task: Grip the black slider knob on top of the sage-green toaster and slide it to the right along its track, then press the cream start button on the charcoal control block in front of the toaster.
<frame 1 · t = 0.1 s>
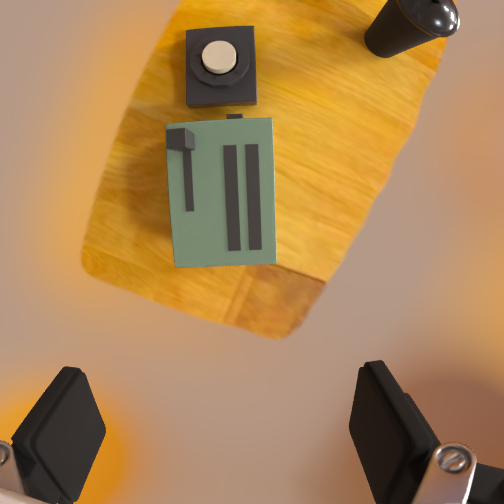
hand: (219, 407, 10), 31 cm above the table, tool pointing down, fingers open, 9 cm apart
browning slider: (181, 140, 26), point 12 cm above the table, slide at 0.0 cm
toaster: (225, 187, 39), on the table
drinking cup: (380, 42, 34), on the table
start button: (219, 57, 30), point 4 cm above the table, slide at 0.1 cm
control block: (221, 68, 35), on the table
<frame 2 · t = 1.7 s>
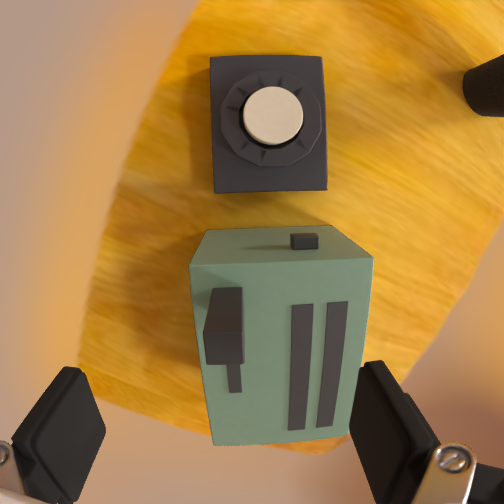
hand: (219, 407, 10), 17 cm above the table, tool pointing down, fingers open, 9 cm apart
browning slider: (226, 321, 15), point 12 cm above the table, slide at 0.0 cm
toaster: (271, 308, 27), on the table
drinking cup: (478, 93, 22), on the table
start button: (272, 116, 19), point 4 cm above the table, slide at 0.1 cm
control block: (267, 124, 23), on the table
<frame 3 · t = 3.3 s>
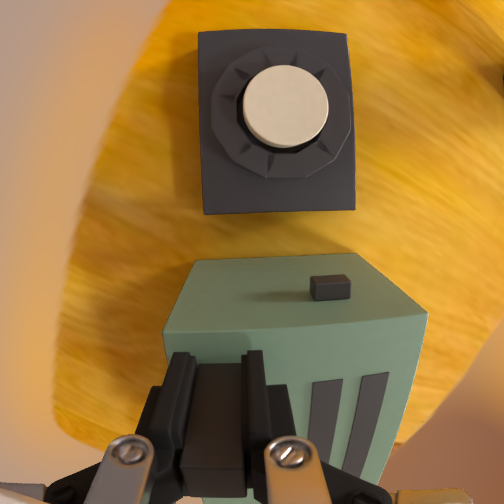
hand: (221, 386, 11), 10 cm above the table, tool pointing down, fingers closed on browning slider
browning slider: (218, 424, 9), point 12 cm above the table, slide at 0.0 cm, touching gripper
toaster: (278, 355, 21), on the table
start button: (284, 107, 13), point 4 cm above the table, slide at 0.1 cm
control block: (274, 121, 18), on the table
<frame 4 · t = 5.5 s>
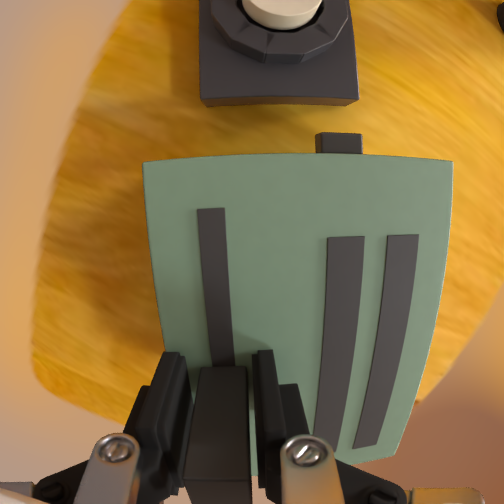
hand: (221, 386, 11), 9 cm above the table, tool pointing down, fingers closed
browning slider: (222, 431, 8), point 12 cm above the table, slide at 5.6 cm
toaster: (281, 275, 19), on the table
control block: (273, 26, 15), on the table
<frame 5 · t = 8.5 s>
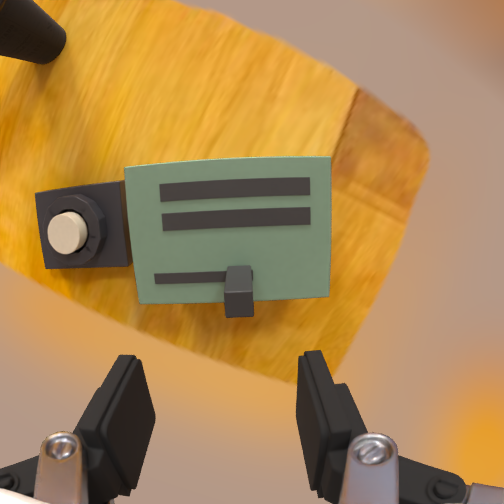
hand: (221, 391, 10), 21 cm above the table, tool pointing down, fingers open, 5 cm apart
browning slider: (239, 289, 20), point 12 cm above the table, slide at 5.6 cm
toaster: (232, 214, 30), on the table
drinking cup: (49, 45, 25), on the table
start button: (67, 232, 26), point 4 cm above the table, slide at 0.1 cm
control block: (88, 223, 30), on the table
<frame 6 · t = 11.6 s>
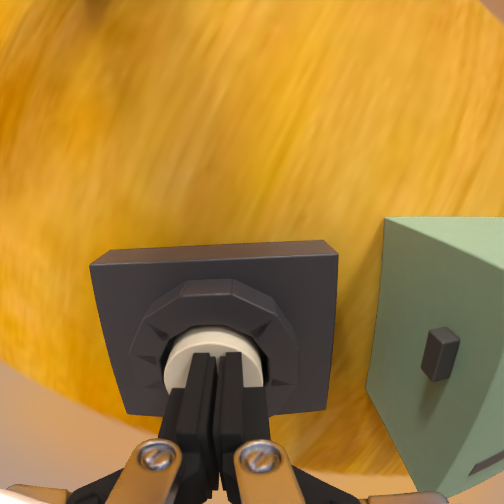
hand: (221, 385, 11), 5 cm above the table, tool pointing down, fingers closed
toaster: (474, 299, 16), on the table
start button: (214, 371, 12), point 4 cm above the table, slide at -0.5 cm, touching gripper
control block: (219, 325, 15), on the table
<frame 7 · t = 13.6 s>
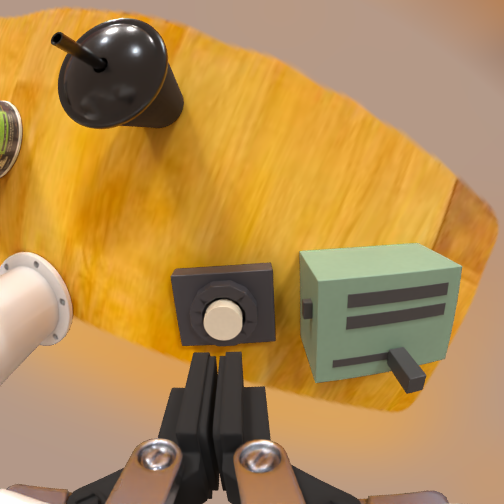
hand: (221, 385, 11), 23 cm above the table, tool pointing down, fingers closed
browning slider: (405, 369, 24), point 12 cm above the table, slide at 5.6 cm
toaster: (361, 290, 35), on the table
drinking cup: (161, 105, 29), on the table
start button: (223, 319, 30), point 4 cm above the table, slide at 0.1 cm
control block: (225, 301, 35), on the table
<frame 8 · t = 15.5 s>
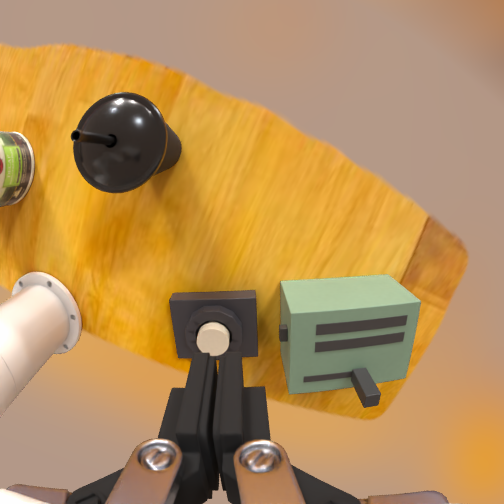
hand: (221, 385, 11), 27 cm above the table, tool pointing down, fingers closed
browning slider: (365, 386, 30), point 12 cm above the table, slide at 5.6 cm
toaster: (334, 314, 40), on the table
drinking cup: (161, 149, 35), on the table
start button: (213, 338, 35), point 4 cm above the table, slide at 0.1 cm
control block: (216, 321, 40), on the table
coffee can: (9, 167, 34), on the table
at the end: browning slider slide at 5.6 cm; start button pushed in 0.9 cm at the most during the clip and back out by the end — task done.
